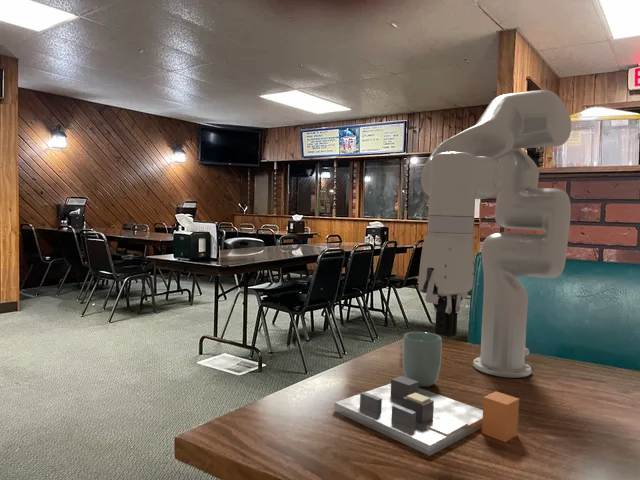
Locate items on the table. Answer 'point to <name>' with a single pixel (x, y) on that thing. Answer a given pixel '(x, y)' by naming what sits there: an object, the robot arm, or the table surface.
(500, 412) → the cap
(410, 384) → the toggle
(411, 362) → the cup
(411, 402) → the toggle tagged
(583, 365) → the table surface
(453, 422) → the panel
